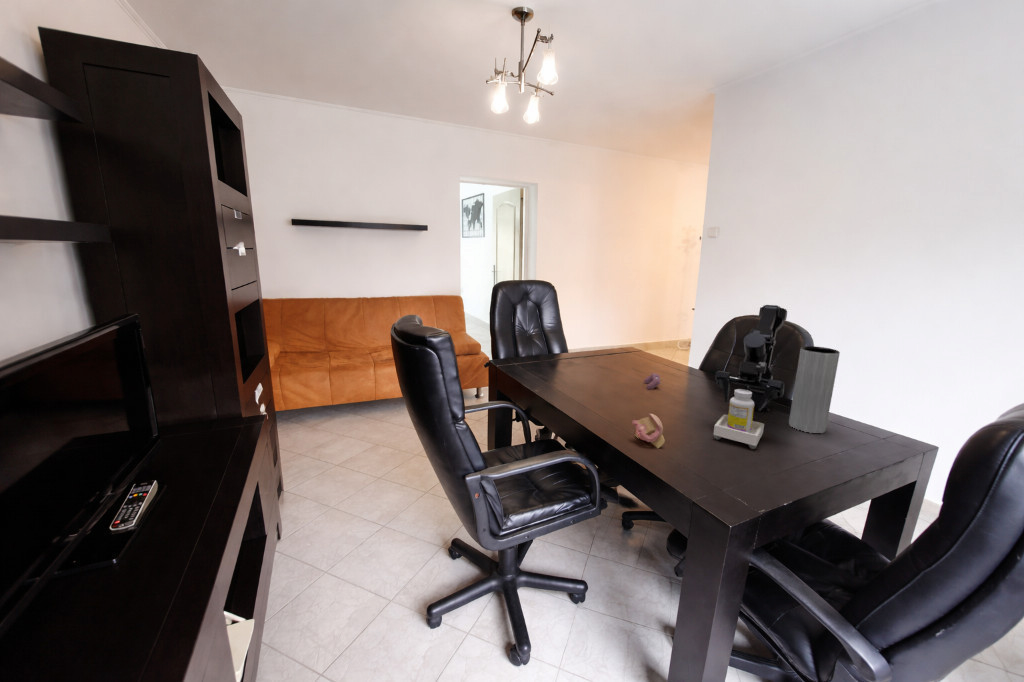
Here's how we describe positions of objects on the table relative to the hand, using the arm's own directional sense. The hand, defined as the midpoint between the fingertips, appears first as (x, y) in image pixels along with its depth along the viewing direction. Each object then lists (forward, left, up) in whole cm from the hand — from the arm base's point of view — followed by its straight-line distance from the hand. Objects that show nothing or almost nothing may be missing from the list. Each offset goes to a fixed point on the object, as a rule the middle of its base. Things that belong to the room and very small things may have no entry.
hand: (742, 406), depth 123 cm
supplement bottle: (0, 0, -8) cm, 8 cm away
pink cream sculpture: (+27, +12, -11) cm, 31 cm away
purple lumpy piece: (+24, -45, -11) cm, 53 cm away
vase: (-24, -16, -11) cm, 31 cm away
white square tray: (0, 0, -11) cm, 11 cm away
